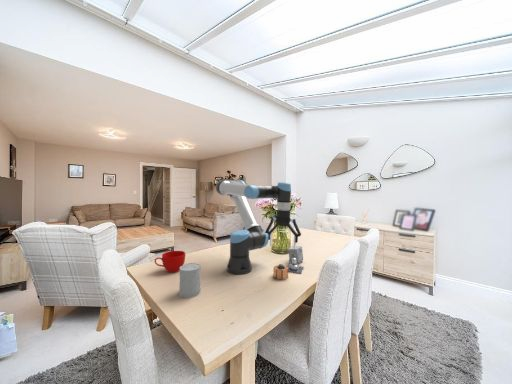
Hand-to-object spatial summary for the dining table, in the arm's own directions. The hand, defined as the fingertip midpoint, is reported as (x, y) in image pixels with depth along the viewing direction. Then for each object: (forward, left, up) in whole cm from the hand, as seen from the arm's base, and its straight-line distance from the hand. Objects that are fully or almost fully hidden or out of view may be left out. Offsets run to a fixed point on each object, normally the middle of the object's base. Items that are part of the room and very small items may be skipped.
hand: (282, 246), depth 120 cm
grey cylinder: (-35, -36, -17) cm, 53 cm away
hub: (+4, +12, -17) cm, 21 cm away
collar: (-1, -1, -17) cm, 17 cm away
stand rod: (-1, -1, -17) cm, 17 cm away
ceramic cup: (-64, -19, -17) cm, 68 cm away
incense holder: (+2, +26, -17) cm, 31 cm away
